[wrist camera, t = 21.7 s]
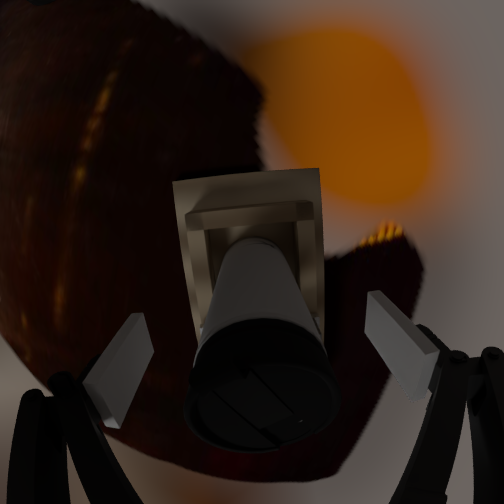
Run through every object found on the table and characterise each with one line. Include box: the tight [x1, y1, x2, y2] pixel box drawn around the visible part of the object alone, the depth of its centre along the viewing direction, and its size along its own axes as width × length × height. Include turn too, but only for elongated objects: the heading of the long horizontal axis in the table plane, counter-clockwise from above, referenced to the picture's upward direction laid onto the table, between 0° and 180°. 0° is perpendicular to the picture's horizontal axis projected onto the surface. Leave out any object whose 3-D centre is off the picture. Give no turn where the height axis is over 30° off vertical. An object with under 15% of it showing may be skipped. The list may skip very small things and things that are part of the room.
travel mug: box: [183, 236, 342, 453], centre depth 19 cm, size 6×7×20 cm
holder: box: [173, 168, 324, 345], centre depth 28 cm, size 26×14×4 cm, turn 5°
